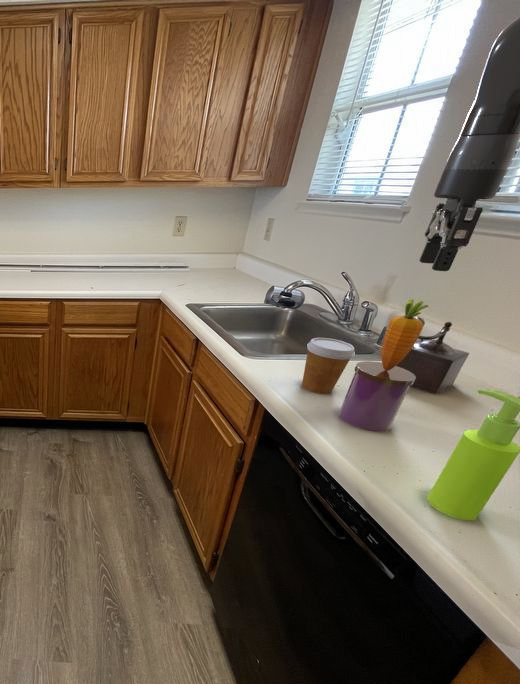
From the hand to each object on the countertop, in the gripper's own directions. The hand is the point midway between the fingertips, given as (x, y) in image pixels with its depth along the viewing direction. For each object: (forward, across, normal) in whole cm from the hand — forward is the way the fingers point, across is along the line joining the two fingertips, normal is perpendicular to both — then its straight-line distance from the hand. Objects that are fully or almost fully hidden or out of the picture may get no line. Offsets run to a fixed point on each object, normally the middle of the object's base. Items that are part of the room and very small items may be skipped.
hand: (432, 266), depth 76 cm
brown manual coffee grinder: (+34, +29, -14) cm, 47 cm away
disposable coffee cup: (+34, +13, +8) cm, 37 cm away
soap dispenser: (+34, -25, -8) cm, 42 cm away
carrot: (+21, 0, 0) cm, 21 cm away
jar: (+33, 0, 0) cm, 33 cm away
